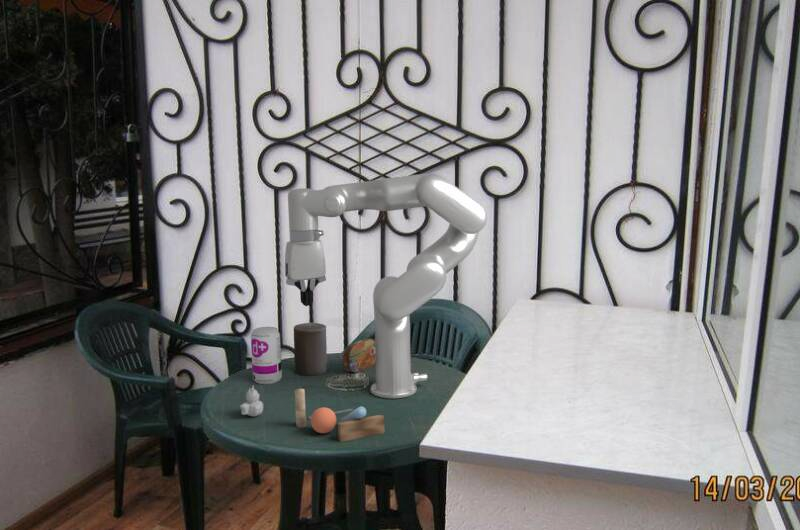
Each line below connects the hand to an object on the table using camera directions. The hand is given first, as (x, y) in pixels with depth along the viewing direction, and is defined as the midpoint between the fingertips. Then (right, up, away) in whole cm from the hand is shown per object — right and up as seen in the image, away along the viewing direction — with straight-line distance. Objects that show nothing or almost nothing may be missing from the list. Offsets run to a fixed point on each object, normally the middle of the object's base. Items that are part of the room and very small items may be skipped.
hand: (307, 304), depth 191 cm
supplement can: (-14, -23, +17) cm, 32 cm away
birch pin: (+1, -28, -16) cm, 33 cm away
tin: (+13, -21, +27) cm, 36 cm away
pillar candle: (-2, -21, +25) cm, 33 cm away
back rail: (+16, -29, -23) cm, 41 cm away
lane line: (+7, -27, -9) cm, 30 cm away
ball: (+7, -26, -21) cm, 34 cm away
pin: (+11, -27, -18) cm, 34 cm away
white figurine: (-13, -28, -10) cm, 32 cm away
